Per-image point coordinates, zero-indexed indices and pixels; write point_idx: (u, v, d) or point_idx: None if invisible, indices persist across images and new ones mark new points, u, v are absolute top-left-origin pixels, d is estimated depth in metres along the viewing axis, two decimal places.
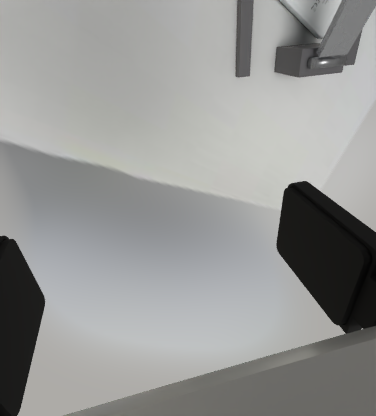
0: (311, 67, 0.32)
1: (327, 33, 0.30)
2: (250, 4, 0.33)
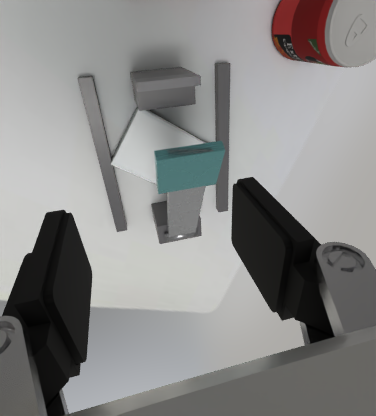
0: (166, 241, 0.37)
1: None
2: (113, 184, 0.37)
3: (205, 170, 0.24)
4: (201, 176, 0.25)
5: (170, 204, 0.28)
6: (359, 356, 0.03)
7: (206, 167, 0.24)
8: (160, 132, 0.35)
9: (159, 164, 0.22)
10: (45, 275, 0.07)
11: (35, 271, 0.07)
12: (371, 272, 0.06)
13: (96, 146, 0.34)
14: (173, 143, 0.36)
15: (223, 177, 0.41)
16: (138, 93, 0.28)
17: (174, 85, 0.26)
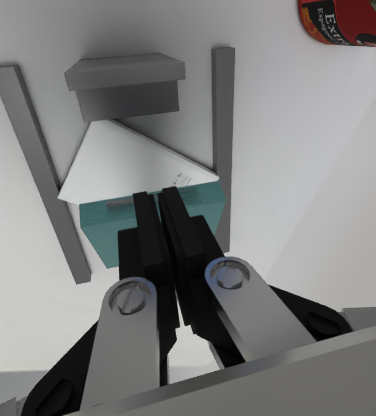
0: None
1: None
2: (66, 224, 0.26)
3: None
4: None
5: None
6: (359, 356, 0.03)
7: None
8: (130, 151, 0.23)
9: (90, 232, 0.11)
10: (159, 244, 0.07)
11: (149, 240, 0.07)
12: (258, 280, 0.06)
13: (33, 172, 0.23)
14: (150, 166, 0.24)
15: (223, 210, 0.30)
16: (79, 93, 0.16)
17: (137, 79, 0.14)
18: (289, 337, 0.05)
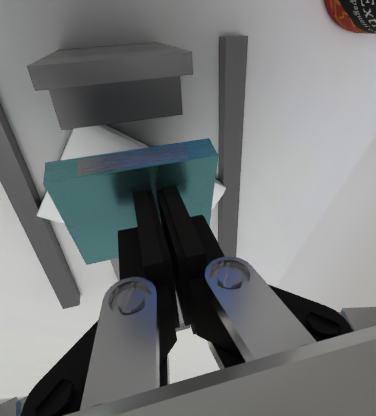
0: None
1: None
2: (48, 244, 0.22)
3: None
4: None
5: None
6: (359, 356, 0.03)
7: None
8: None
9: (57, 194, 0.09)
10: (159, 243, 0.07)
11: (149, 240, 0.07)
12: (258, 280, 0.06)
13: (6, 186, 0.19)
14: None
15: (230, 223, 0.26)
16: (54, 92, 0.12)
17: (128, 74, 0.11)
18: (289, 337, 0.05)
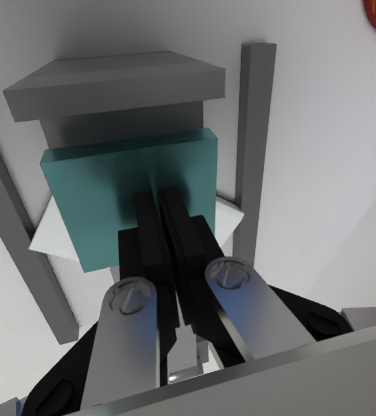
0: None
1: None
2: (42, 278, 0.20)
3: None
4: None
5: None
6: (359, 356, 0.03)
7: (183, 195, 0.10)
8: None
9: (53, 177, 0.09)
10: (159, 243, 0.07)
11: (149, 240, 0.07)
12: (258, 280, 0.06)
13: None
14: None
15: (246, 251, 0.23)
16: None
17: (141, 99, 0.08)
18: (289, 337, 0.05)
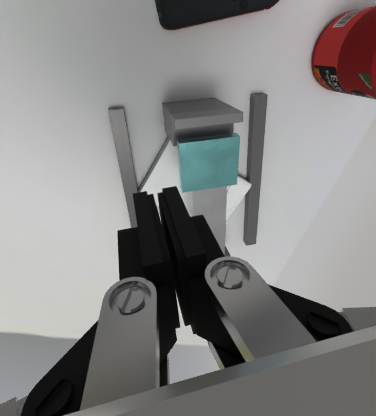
0: None
1: None
2: None
3: (224, 163, 0.26)
4: (221, 170, 0.27)
5: (194, 212, 0.29)
6: (359, 356, 0.03)
7: (225, 159, 0.26)
8: None
9: (181, 149, 0.25)
10: (159, 243, 0.07)
11: (149, 240, 0.07)
12: (258, 280, 0.06)
13: (123, 178, 0.33)
14: None
15: (253, 210, 0.39)
16: (174, 128, 0.26)
17: (214, 122, 0.24)
18: (289, 337, 0.05)
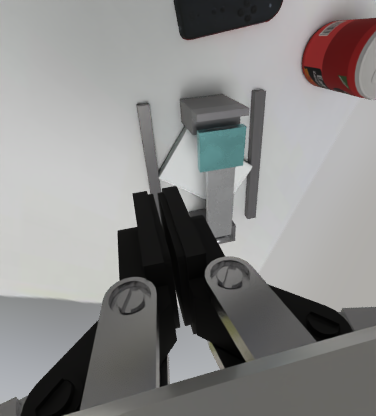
0: None
1: None
2: None
3: (234, 148, 0.33)
4: (231, 154, 0.34)
5: (209, 188, 0.36)
6: (359, 356, 0.03)
7: (234, 145, 0.33)
8: None
9: (201, 137, 0.31)
10: (159, 243, 0.07)
11: (149, 240, 0.07)
12: (258, 280, 0.06)
13: (147, 162, 0.39)
14: None
15: (253, 188, 0.46)
16: (193, 121, 0.32)
17: (227, 116, 0.31)
18: (289, 337, 0.05)
